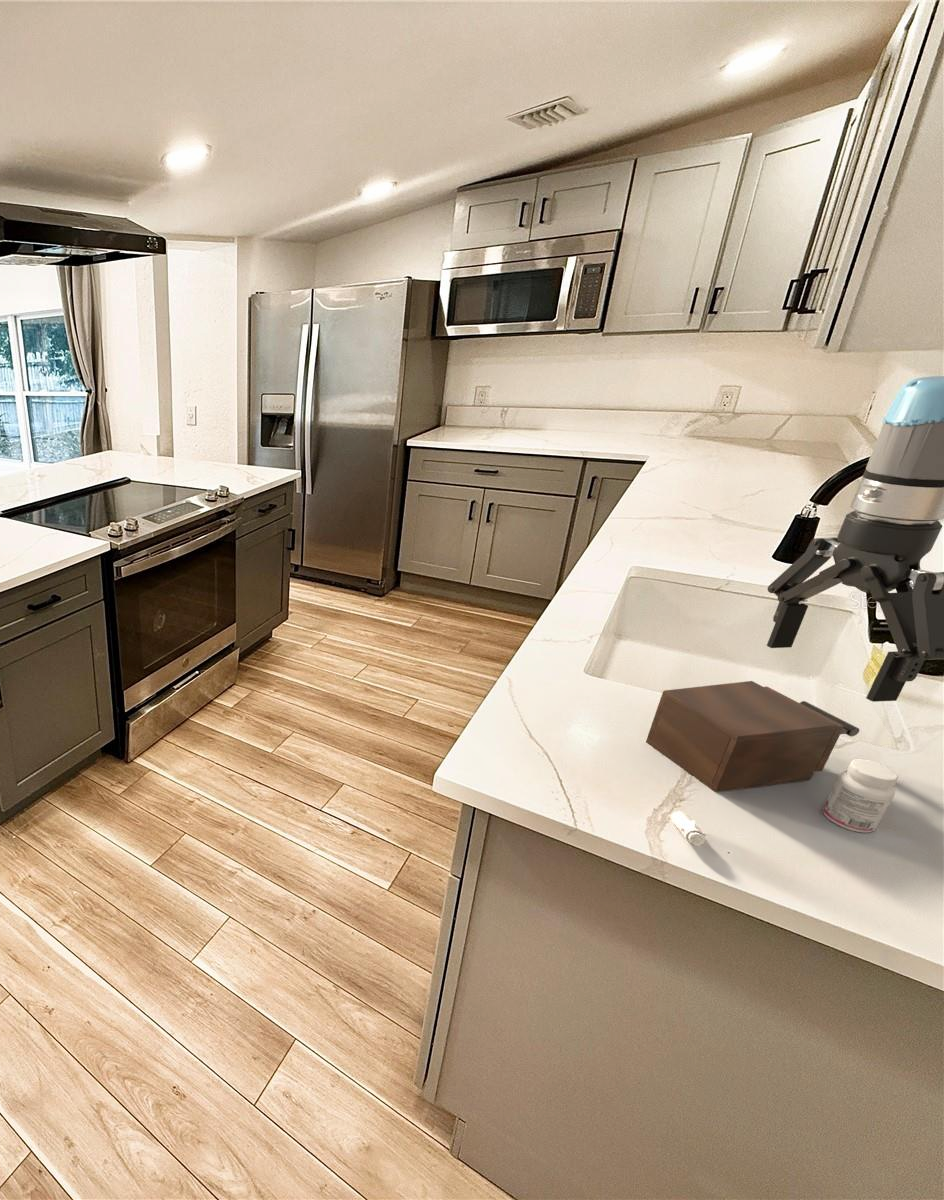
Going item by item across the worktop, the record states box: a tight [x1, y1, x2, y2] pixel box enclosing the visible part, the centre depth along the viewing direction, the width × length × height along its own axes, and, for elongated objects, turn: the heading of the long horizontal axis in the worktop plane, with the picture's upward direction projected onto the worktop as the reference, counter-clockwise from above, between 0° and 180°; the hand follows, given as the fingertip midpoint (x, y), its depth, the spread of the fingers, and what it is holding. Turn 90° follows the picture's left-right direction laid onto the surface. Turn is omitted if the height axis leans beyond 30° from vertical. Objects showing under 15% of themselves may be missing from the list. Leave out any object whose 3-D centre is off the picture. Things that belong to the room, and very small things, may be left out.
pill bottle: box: [822, 758, 899, 834], centre depth 78 cm, size 5×5×8 cm
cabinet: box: [645, 680, 837, 793], centre depth 90 cm, size 15×12×10 cm
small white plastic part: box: [670, 811, 707, 846], centre depth 79 cm, size 4×6×3 cm, turn 134°
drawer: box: [764, 686, 860, 773], centre depth 90 cm, size 19×10×8 cm, turn 96°
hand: (825, 671), depth 81 cm, fingers open, 13 cm apart
